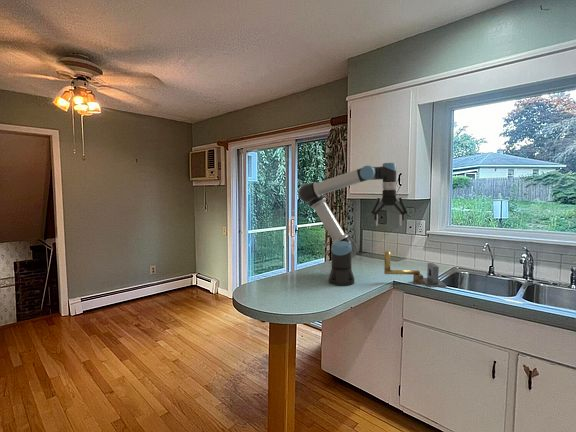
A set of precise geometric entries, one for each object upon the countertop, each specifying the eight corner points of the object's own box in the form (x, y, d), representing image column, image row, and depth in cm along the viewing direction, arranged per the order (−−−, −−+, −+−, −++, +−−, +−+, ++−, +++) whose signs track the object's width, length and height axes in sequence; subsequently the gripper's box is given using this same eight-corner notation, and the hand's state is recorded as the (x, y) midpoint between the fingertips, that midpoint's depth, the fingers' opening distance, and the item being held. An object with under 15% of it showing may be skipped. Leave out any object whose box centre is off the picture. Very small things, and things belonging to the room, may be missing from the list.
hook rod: (384, 274, 183) (385, 252, 182) (383, 273, 186) (383, 251, 185) (420, 275, 181) (420, 252, 180) (418, 273, 184) (418, 251, 183)
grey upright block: (427, 286, 176) (428, 267, 175) (419, 279, 190) (420, 261, 189) (446, 286, 175) (446, 268, 174) (436, 279, 189) (437, 262, 188)
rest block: (415, 283, 181) (416, 275, 180) (413, 281, 186) (413, 273, 185) (423, 283, 180) (423, 276, 180) (420, 281, 185) (420, 273, 185)
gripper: (368, 190, 182) (368, 226, 184) (413, 189, 180) (412, 226, 182) (366, 189, 189) (366, 224, 191) (409, 189, 187) (408, 224, 189)
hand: (388, 225), depth 186 cm, fingers open, 13 cm apart
